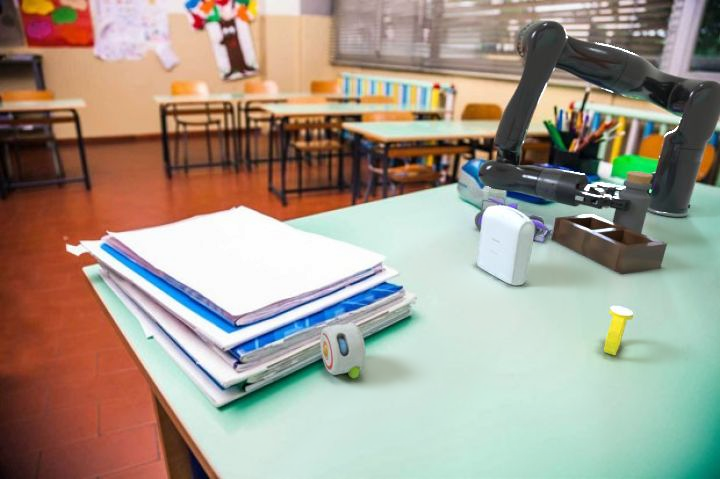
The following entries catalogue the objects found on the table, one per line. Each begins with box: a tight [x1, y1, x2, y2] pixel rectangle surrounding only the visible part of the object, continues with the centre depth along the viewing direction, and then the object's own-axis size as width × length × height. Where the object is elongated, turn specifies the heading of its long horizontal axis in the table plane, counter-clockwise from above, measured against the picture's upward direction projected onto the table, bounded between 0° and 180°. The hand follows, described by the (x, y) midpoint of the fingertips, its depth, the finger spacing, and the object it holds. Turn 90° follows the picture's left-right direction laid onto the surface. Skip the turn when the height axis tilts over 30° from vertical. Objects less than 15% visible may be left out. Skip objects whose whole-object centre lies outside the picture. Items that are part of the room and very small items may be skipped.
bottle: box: [612, 170, 653, 234], centre depth 104 cm, size 6×6×15 cm
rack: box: [551, 213, 668, 275], centre depth 99 cm, size 18×10×5 cm, turn 21°
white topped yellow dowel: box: [603, 305, 634, 356], centre depth 65 cm, size 6×3×6 cm, turn 144°
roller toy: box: [319, 322, 367, 379], centre depth 59 cm, size 4×6×6 cm
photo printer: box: [476, 205, 535, 286], centre depth 86 cm, size 10×4×12 cm, turn 26°
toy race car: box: [474, 195, 552, 243], centre depth 109 cm, size 10×15×6 cm, turn 57°
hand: (636, 202), depth 103 cm, fingers open, 8 cm apart
